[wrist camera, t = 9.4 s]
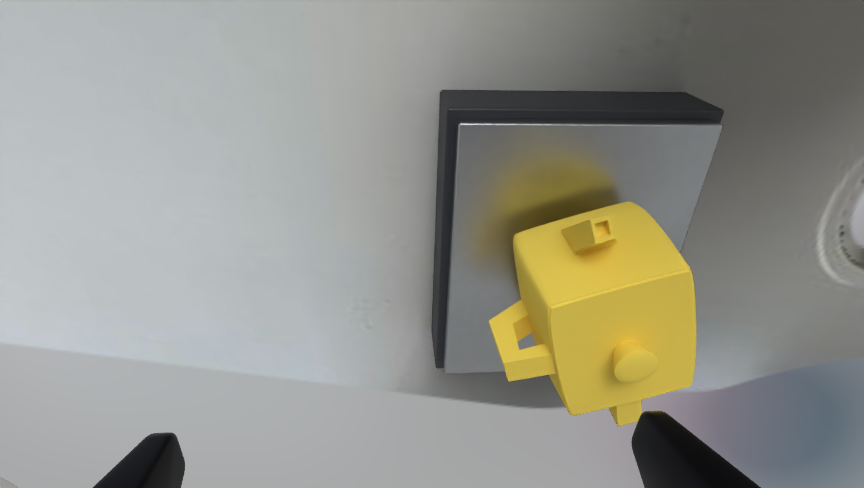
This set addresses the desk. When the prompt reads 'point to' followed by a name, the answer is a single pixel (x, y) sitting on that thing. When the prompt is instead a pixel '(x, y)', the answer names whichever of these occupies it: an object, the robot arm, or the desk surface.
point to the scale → (548, 189)
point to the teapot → (601, 311)
